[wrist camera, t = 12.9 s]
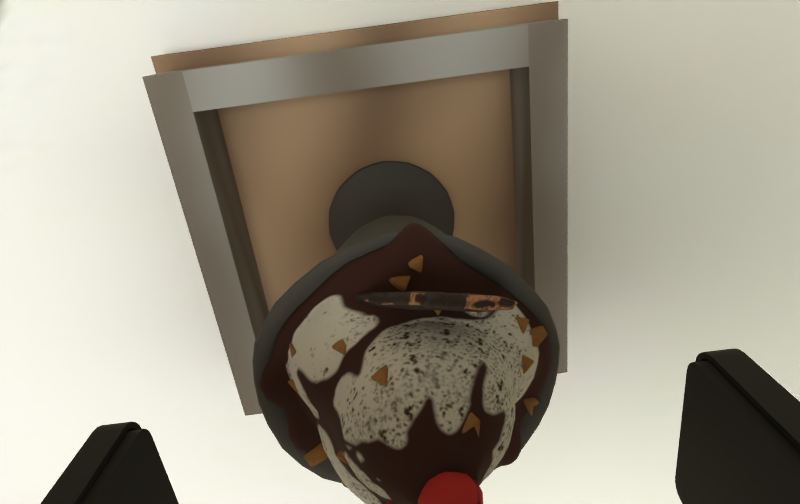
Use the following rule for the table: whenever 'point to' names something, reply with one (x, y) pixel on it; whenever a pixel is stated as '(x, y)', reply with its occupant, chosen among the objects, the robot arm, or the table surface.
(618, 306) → the table surface
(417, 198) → the sundae
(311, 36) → the stand
